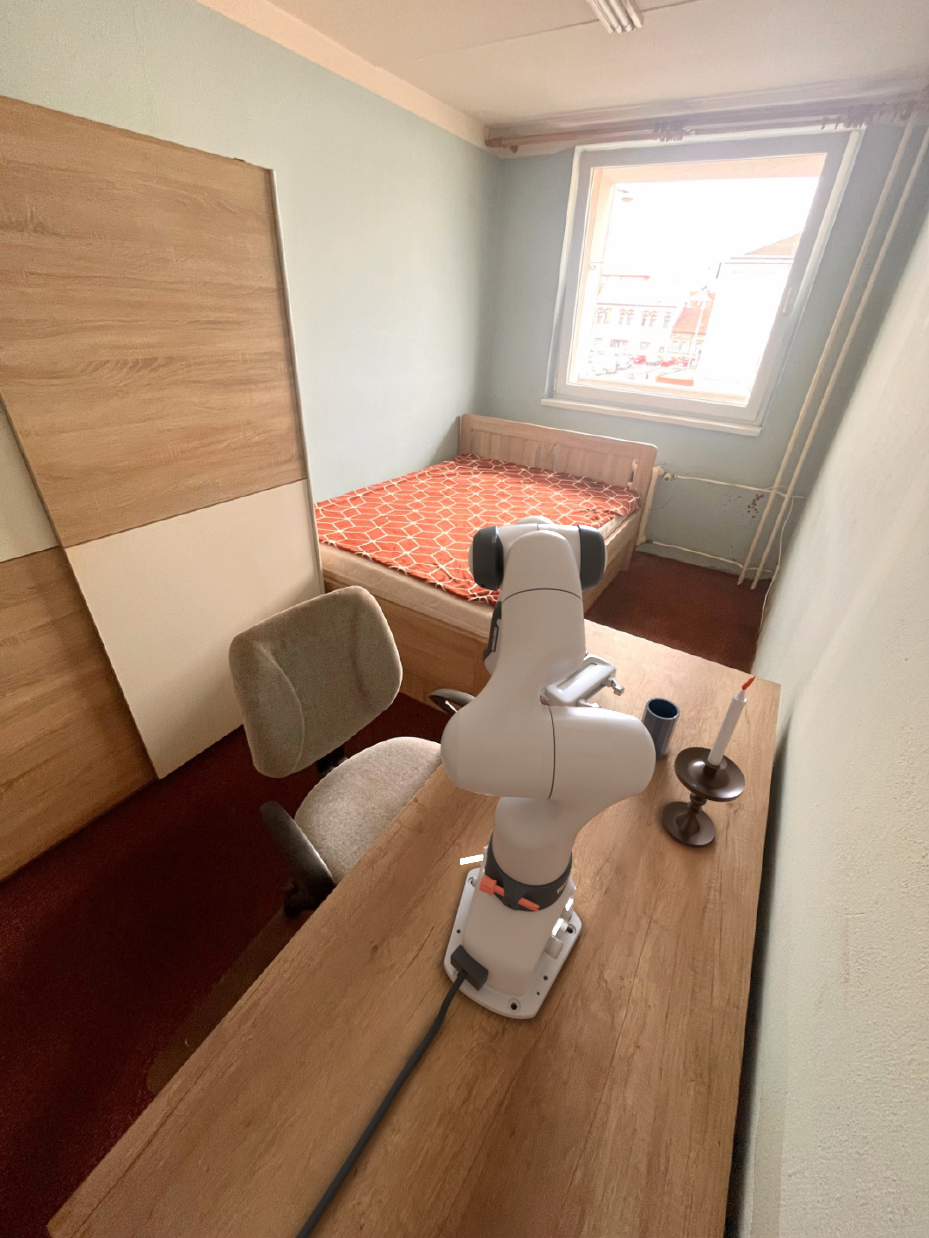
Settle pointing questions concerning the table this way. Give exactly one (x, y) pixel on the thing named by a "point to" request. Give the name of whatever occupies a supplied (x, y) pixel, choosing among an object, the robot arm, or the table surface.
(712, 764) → the candlestick
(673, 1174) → the table surface
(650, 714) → the cup
